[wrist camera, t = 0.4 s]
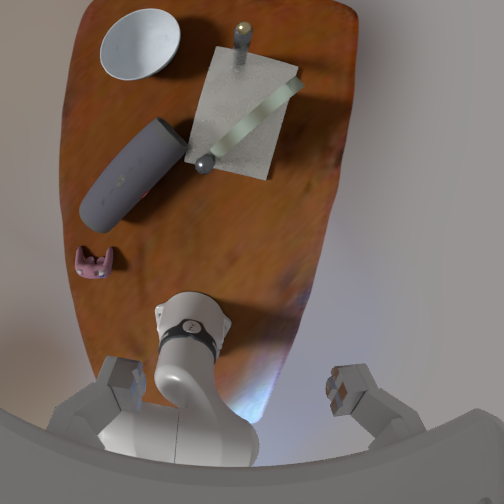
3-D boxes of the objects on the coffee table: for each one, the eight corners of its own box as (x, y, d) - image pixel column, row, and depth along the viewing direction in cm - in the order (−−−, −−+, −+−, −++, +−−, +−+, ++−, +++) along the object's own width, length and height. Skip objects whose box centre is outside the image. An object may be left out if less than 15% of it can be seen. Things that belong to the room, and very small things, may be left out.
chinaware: (194, 70, 42) (189, 59, 35) (124, 98, 43) (108, 93, 36) (177, 13, 36) (170, -3, 29) (109, 41, 37) (94, 31, 30)
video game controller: (83, 256, 57) (75, 280, 53) (77, 244, 54) (67, 268, 49) (118, 258, 58) (111, 283, 54) (113, 245, 55) (104, 270, 50)
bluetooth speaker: (119, 225, 54) (100, 243, 45) (91, 195, 50) (68, 208, 41) (194, 149, 49) (187, 152, 40) (163, 116, 46) (149, 112, 37)
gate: (222, 154, 48) (219, 159, 36) (214, 146, 47) (209, 149, 35) (286, 98, 44) (305, 85, 32) (278, 90, 44) (295, 75, 31)
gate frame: (265, 179, 52) (282, 201, 35) (185, 161, 50) (161, 174, 33) (296, 68, 44) (329, 38, 26) (216, 48, 41) (210, 7, 24)
